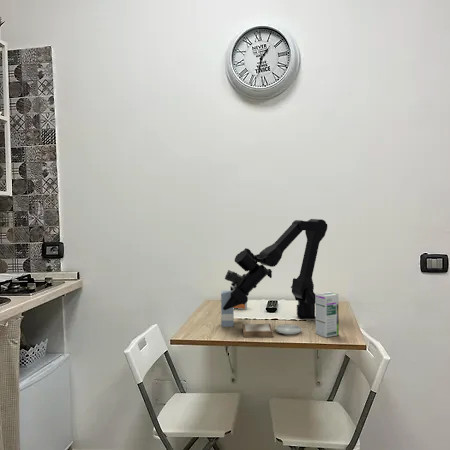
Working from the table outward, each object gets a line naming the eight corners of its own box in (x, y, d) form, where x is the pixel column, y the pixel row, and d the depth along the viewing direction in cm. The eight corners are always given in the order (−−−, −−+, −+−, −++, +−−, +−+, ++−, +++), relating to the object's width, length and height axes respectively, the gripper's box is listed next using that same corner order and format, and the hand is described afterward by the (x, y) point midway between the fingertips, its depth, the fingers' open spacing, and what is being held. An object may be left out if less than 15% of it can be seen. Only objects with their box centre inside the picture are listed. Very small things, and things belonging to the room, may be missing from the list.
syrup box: (325, 338, 163) (326, 295, 163) (315, 333, 169) (315, 292, 168) (339, 335, 166) (339, 294, 165) (327, 331, 171) (328, 291, 170)
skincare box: (232, 309, 206) (231, 281, 205) (233, 307, 210) (233, 279, 209) (246, 309, 205) (246, 281, 204) (247, 307, 209) (247, 280, 208)
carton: (233, 322, 184) (233, 290, 183) (233, 326, 179) (233, 293, 178) (221, 323, 184) (221, 290, 183) (221, 326, 179) (221, 293, 178)
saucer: (299, 328, 175) (299, 324, 175) (303, 336, 166) (303, 331, 166) (274, 329, 175) (274, 324, 175) (277, 336, 166) (277, 331, 166)
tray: (270, 328, 175) (270, 323, 175) (272, 336, 165) (272, 331, 165) (242, 329, 175) (242, 323, 175) (243, 337, 165) (243, 331, 165)
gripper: (236, 259, 189) (209, 287, 190) (238, 266, 170) (207, 298, 171) (256, 279, 190) (229, 307, 190) (260, 288, 171) (229, 319, 172)
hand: (223, 307), depth 181 cm, fingers open, 6 cm apart
